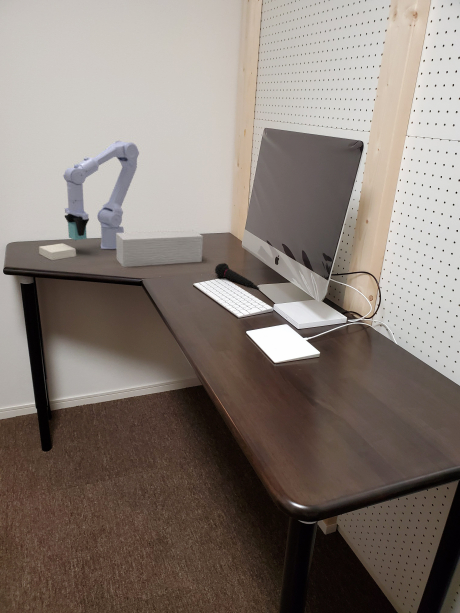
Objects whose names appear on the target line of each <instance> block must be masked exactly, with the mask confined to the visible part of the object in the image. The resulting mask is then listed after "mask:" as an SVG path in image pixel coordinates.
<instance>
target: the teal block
mask: <svg viewBox="0 0 460 613" xmlns="http://www.w3.org/2000/svg"><path fill="white" fill-rule="evenodd" d="M67 227H68V228H67V230H68V238H70V239H71V240H74V241H78V240H86V239H87V238H88V237H87V227H86V228H85V232H84V235H83V236H78V232H77V226H76V223H75V222H70V223H68V222H67Z"/></svg>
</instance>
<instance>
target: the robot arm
mask: <svg viewBox="0 0 460 613" xmlns="http://www.w3.org/2000/svg"><path fill="white" fill-rule="evenodd" d="M139 156H140V151H139V149H138V146H137V145H136V144H135V143H134V142H128V141H127V142H126V141H121V140H116V141H115V142H112V143H111V144H110V145H109V146H108V147H107V148H105V149H104V150H103V151H101V152H100V153H98V154H96V156H94V157H91V156H88V157H86V156H85V157H84V158H83V160H82V161H80V162H78V163H76V164H74V166H73V167H70V166H69V167H68V168H66V169H65V171H64V174H63V175H62V177H63V178H64V180H65V182H66V187H67V206H68V207H65V208H64V213H65V215H64V218H65V219H66V222H67V224H68V223H70V222H75V223H76V226H77V232H78V236H83V235H84V232H85V228H86V229H87V225H88V222H89V221H90V218H89V214H88V213H87V212H86V211H85V207H84V190H83V189H84V185H83V184H84V183H85V181H86V179H87V178H88V177H89V176H91V175H93V174H94V173H95V172H97V171H99V166H101V165H103V164H104V163H107V162H108V161H109V160H111V159H113V158H117V160H118V161H119V163H120V165H121V170H120V172H119V175H118V177H117V180H116V182H115V185H114V187H113V189H112V192H111V195H110V197H109V199H108V201H107V202H106V203H104V204H103V205H102V207H101V209H100V210H98V213H97V220H98V222H99V223H100V229H101V230H100V232H101V236H100V237H101V243H100V249H101V250H116V248H117V247H116V246H117V245H116V241H117V240H116V233H125V230H124V226H121V224H122V221H123V214H124V210H123V209H122V205H123V203H124V201H125V198H126V196H127V193H128V191H129V188H130V186H131V183H132V181H133V178H134V175H135V173H136V171H137V168H138V167H137V165H138V157H139Z"/></svg>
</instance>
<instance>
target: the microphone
mask: <svg viewBox="0 0 460 613" xmlns="http://www.w3.org/2000/svg"><path fill="white" fill-rule="evenodd" d="M214 273H215V274H216V277H218V278H220V279H223V278H227V279H229V280H230V281H231V282H233V283H234V282H235V283H238V284H240V285H242V286H246V287H248V288H253V289H255V290H260V287H258V285H256V284H254V282H253V281H251V280H250V279H249V278H246V277H245V276H244V275H241V274H239V273H238V272H236V271H234V270H233V269H230V267H229V265H228V264H227V263H226V262H224V263H218V264H216V266H215V268H214Z"/></svg>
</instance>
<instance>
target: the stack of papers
mask: <svg viewBox="0 0 460 613" xmlns="http://www.w3.org/2000/svg"><path fill="white" fill-rule="evenodd" d="M116 240H117V241H116V245H117V246H116V247H117V248H116V249H115V250H116V260H117V261H118V262H119V264H120V265H121V267H123V268H129V267H140V266H141V267H144V266H157V265H158V266H159V265H172V264H186V263H187V264H188V263H200V262H202V260H203V241H204V235H202V234H200V233H198V232H197V231H195V230H194V229H192V230H191V229H186V230H185V229H184V230H163V231H161V230H160V231H136V232H134V231H133V232H124V233H116Z"/></svg>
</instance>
